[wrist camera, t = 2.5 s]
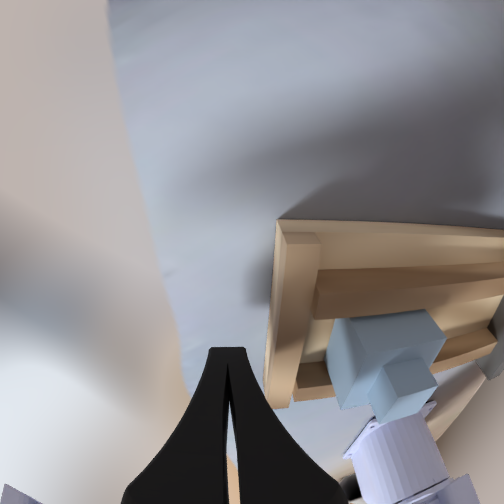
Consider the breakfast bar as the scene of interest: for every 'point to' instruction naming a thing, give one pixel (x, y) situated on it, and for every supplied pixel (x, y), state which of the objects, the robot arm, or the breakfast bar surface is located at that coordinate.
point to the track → (379, 294)
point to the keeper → (384, 362)
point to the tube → (352, 489)
